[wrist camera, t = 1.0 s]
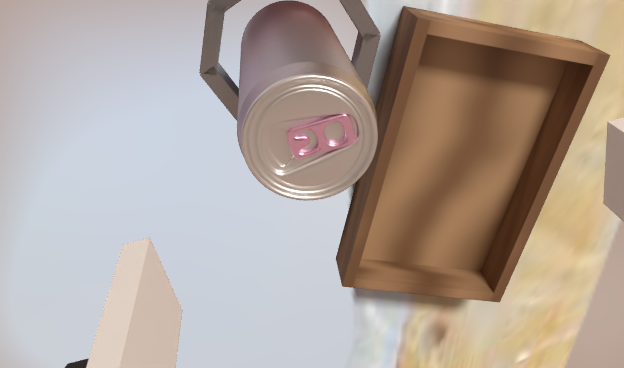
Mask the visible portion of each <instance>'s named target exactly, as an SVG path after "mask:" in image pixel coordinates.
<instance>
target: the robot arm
mask: <svg viewBox="0 0 624 368" xmlns="http://www.w3.org/2000/svg"><path fill="white" fill-rule="evenodd" d="M603 204H605V205H606V206H607V207H608V208H609V209H610V210H611V211H612V212H614V213H615V214H616V215H617V216H618V217H619V218H620V219H621V220H622V221H624V117H623V118H620V119H616V120H612V121H608V123H607V142H606V162H605V181H604V201H603ZM181 318H182V308H181V306H180V304H179V301H178V299H177V297H176V295H175V293H174V290H173V288H172V286H171V284H170V282H169V279H168V277H167V275H166V273H165V271H164V268H163V266H162V264H161V262H160V260H159V257H158V255H157V253H156V251H155V248H154V246H153V244H152V242H151V239H150V238H147V239H143V240H139V241H135V242H131V243H127V244H124V245H123V247H122V250H121V253H120V256H119V260H118V263H117V267H116V270H115V273H114V276H113V280H112V283H111V286H110V290H109V293H108V296H107V300H106V303H105V306H104V310H103V313H102V317H101V320H100V323H99V326H98V330H97V333H96V336H95V340H94V343H93V346H92V350H91V353H90V356H89V359H85V360H81V361H78V362H73V363H69V364H67V366H66V367H65V368H175V367H176V359H177V351H178V343H179V334H180V326H181Z"/></svg>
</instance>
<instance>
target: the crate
mask: <svg viewBox="0 0 624 368" xmlns="http://www.w3.org/2000/svg"><path fill="white" fill-rule="evenodd" d="M609 57H610V55H609V54H607V53H605V52H603V51H601V50H599V49H596V48H594V47H592V46H590V45H588V44H586V43H584V42H582V41H578V40H573V39H568V38H563V37H558V36H553V35H548V34H543V33H538V32H533V31H527V30H522V29H517V28H512V27H507V26H502V25H497V24H492V23H487V22H482V21H477V20H472V19H467V18H462V17H456V16H451V15H446V14H441V13H436V12H431V11H426V10H421V9H416V8H411V7H406V6H403V9H402V13H401V17H400V21H399V24H398V28H397V32H396V36H395V39H394V43H393V47H392V51H391V54H390V58H389V62H388V66H387V69H386V73H385V77H384V80H383V84H382V88H381V92H380V95H379V99H378V103H377V107H376V114H377V128H378V141H377V147H376V151H375V154H374V157H373V159H372V162H371V163H370V165H369V167H368V169H367V170H366V171H365V173H364V174H363V175H362V176H361V177H360V178H359V179H358V180H357V181H356V185H355V189H354V193H353V196H352V200H351V204H350V208H349V211H348V215H347V219H346V222H345V226H344V230H343V234H342V237H341V242H340V245H339V249H338V253H337V256H336V261H337V265H338V270H339V273H340V278H341V283H342V286H343V287H353V288H363V289H373V290H383V291H393V292H403V293H413V294H423V295H432V296H442V297H452V298H462V299H472V300H482V301H492V302H500V301H501V298H502V296H503V294H504V292H505V289H506V287H507V285H508V283H509V280H510V278H511V276H512V274H513V272H514V269H515V267H516V265H517V263H518V260H519V258H520V256H521V254H522V251H523V249H524V247H525V245H526V242H527V240H528V238H529V236H530V234H531V231H532V229H533V227H534V225H535V222H536V220H537V218H538V216H539V213H540V211H541V209H542V207H543V205H544V202H545V200H546V198H547V196H548V193H549V191H550V189H551V187H552V184H553V182H554V180H555V178H556V176H557V173H558V171H559V169H560V167H561V164H562V162H563V160H564V158H565V155H566V153H567V151H568V149H569V146H570V144H571V142H572V140H573V138H574V135H575V133H576V131H577V129H578V126H579V124H580V122H581V120H582V117H583V115H584V113H585V111H586V109H587V106H588V104H589V102H590V100H591V97H592V95H593V93H594V91H595V88H596V86H597V84H598V82H599V79H600V77H601V75H602V73H603V71H604V68H605V66H606V64H607V62H608V59H609Z"/></svg>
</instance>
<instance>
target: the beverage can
mask: <svg viewBox="0 0 624 368" xmlns="http://www.w3.org/2000/svg"><path fill="white" fill-rule="evenodd" d="M237 136H238V142H239V146H240V149H241V152H242V154H243V156H244V158H245V161H246V163H247V165H248V167H249V169H250V171H251V172H252V174H253V175H254V176H255V177H256V179H257V180H258V181H259V182H260V183H261V184H263V185H264V186H265V187H266V188H268V189H269V190H271V191H273V192H274V193H277V194H279V195H281V196H284V197H287V198H291V199H296V200H318V199H323V198H327V197H330V196H333V195H336V194H338V193H340V192H342V191H344V190H346V189H347V188H349V187H350V186H351V185H353V184H354V183H355V182H356V181H357V180H358V179H359V178H360V177H361V176H362V175H363V174H364V173H365V171H366V170H367V169H368V167H369V165H370V163H371V162H372V159H373V157H374V154H375V151H376V147H377V141H378V128H377V114H376V110H375V106H374V103H373V101H372V99H371V96H370V95H369V93H368V91H367V89H366V88H365V86H364V84H363V82H362V80H361V79H360V77H359V75H358V73H357V72H356V70H355V68H354V66H353V65H352V63H351V61H350V59H349V57H348V56H347V54H346V52H345V50H344V49H343V47H342V45H341V44H340V41H339V40H338V38H337V36H336V35H335V33H334V31H333V29H332V27H331V25H330V24H329V22H328V21H327V19H326V18H325V17H324V16H323V15H322V14H321V13H320V12H319V11H318V10H316V9H315V8H314V7H312V6H310V5H308V4H305V3H302V2H298V1H279V2H275V3H272V4H270V5H268V6H266V7H264V8H263V9H261V10H260V11H258V12H257V13H256V14H255V15H254V16H253V17H252V19H251V20H250V21H249V23H248V25H247V27H246V28H245V31H244V33H243V37H242V43H241V62H240V80H239V100H238V120H237Z"/></svg>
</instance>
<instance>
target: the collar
mask: <svg viewBox="0 0 624 368" xmlns="http://www.w3.org/2000/svg"><path fill="white" fill-rule="evenodd" d="M239 1H240V0H209V1H208V4H207V12H206V21H205V30H204V39H203V48H202V56H201V65H200V73H201V74H200V75H201V77H202V78H203V79H204V80H205V82H206V83H207V84H208V85H209V87H210V88H211V89H212V90H213V92H214V93H215V94H216V95H217V97H218V98H219V99H220V100H221V102H222V103H223V104H224V105H225V106H226V108H227V109H228V110H229V111H230V113H231V114H232V115H233V117H234V118H235V119H236V120H238V100H239V88H238V87H237V86H236V85H235V83H234V82H233V81H232V79H231V78H230V77H229V76H228V74H227V73H226V72H225V70H224V69H223V68H222V66H221V65H220V64H219V63H218V59H219V51H220V44H221V36H222V28H223V20H224V12H225V11H227V10H228V9H229V8H231V7H232V6H234V5H235V4H236V3H238V2H239ZM340 2H341V4H342V5H343V7H344V8H345V10H346V12H347V13H348V15H349V17H350V18H351V20H352V21H353V23H354V24H355V26H356V28H357V30H358V36H357V40H356V44H355V48H354V53H353V57H352V61H351V63H352V65H353V66H354V68H355V70H356V72H357V73H358V75H359V77H360V79H361V80H362V82H363V84H364V86H365V88H366V89H367V87H368V83H369V79H370V75H371V71H372V67H373V63H374V59H375V55H376V51H377V47H378V44H379V40H380V36H381V35H380V32H379V30H378V29H377V27H376V25H375V24H374V22H373V20H372V19H371V17H370V15H369V14H368V12H367V10H366V9H365V7H364V5H363V4H362V2H361V0H340Z"/></svg>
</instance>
